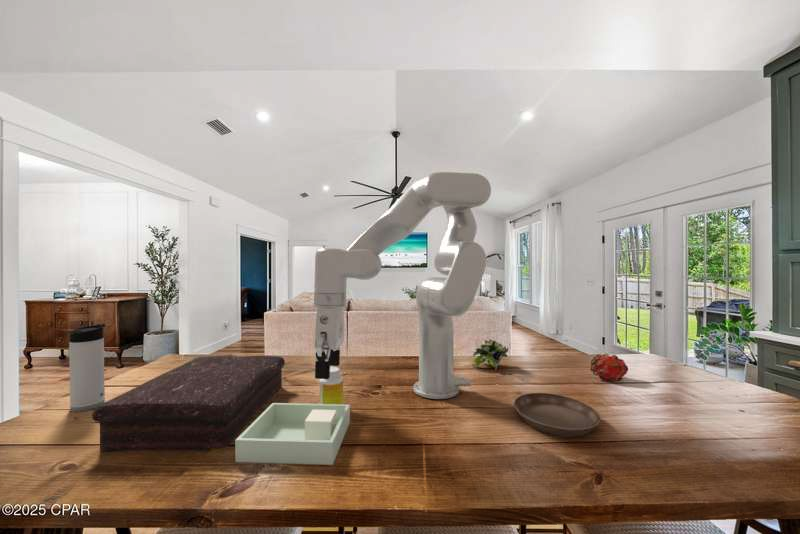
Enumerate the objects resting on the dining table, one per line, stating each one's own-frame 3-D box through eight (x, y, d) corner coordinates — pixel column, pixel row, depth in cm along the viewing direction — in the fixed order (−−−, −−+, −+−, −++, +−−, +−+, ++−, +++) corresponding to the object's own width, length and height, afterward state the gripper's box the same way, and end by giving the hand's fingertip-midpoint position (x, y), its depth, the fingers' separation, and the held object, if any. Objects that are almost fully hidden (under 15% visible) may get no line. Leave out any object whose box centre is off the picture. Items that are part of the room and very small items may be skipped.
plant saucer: (615, 446, 66) (615, 431, 66) (521, 438, 69) (521, 423, 69) (582, 407, 83) (583, 395, 83) (509, 402, 86) (509, 390, 86)
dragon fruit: (586, 383, 103) (623, 388, 104) (603, 375, 96) (642, 380, 97) (580, 356, 108) (615, 361, 109) (595, 347, 101) (633, 352, 102)
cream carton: (336, 434, 68) (336, 409, 68) (330, 447, 63) (330, 421, 63) (312, 433, 69) (312, 409, 69) (304, 447, 64) (304, 421, 64)
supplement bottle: (347, 412, 80) (347, 369, 80) (326, 419, 76) (326, 374, 76) (336, 404, 84) (336, 364, 84) (315, 410, 81) (315, 368, 80)
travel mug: (111, 403, 85) (110, 324, 84) (77, 414, 79) (76, 329, 78) (98, 399, 87) (97, 322, 87) (65, 409, 81) (63, 327, 81)
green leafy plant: (489, 379, 117) (506, 350, 119) (502, 385, 106) (520, 353, 109) (463, 361, 117) (480, 332, 120) (472, 365, 107) (491, 333, 109)
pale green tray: (349, 424, 74) (349, 404, 74) (332, 467, 58) (332, 442, 58) (272, 422, 74) (272, 402, 74) (235, 465, 59) (235, 440, 59)
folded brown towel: (226, 455, 63) (226, 402, 62) (89, 456, 62) (88, 403, 62) (286, 386, 97) (285, 352, 96) (197, 387, 96) (197, 352, 96)
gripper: (337, 304, 71) (334, 385, 71) (352, 297, 88) (350, 361, 88) (302, 303, 71) (300, 383, 71) (324, 296, 88) (322, 360, 88)
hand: (327, 371), depth 80 cm, fingers open, 9 cm apart
